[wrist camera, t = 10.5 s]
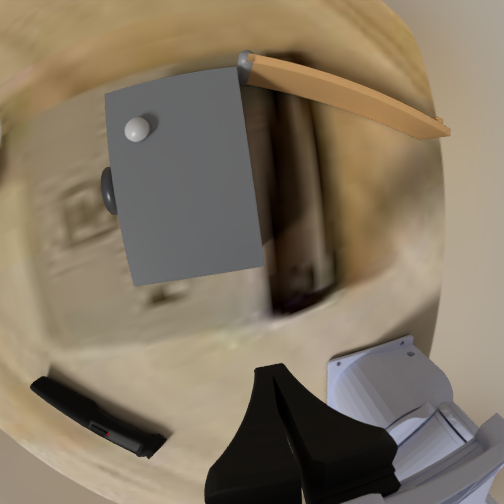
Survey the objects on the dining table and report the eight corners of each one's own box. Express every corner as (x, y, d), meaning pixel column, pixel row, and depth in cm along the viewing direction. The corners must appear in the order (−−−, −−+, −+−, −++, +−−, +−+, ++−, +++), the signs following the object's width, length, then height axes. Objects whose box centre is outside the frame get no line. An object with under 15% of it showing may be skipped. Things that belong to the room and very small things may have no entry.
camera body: (232, 87, 17) (236, 63, 13) (256, 250, 20) (266, 268, 16) (112, 112, 17) (87, 96, 12) (137, 269, 20) (117, 291, 15)
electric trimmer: (44, 361, 21) (30, 377, 18) (169, 435, 24) (165, 456, 21) (39, 380, 22) (27, 396, 19) (156, 448, 25) (152, 468, 22)
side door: (237, 69, 17) (241, 45, 13) (420, 128, 19) (450, 123, 15) (233, 84, 17) (237, 62, 13) (419, 141, 20) (449, 138, 16)
